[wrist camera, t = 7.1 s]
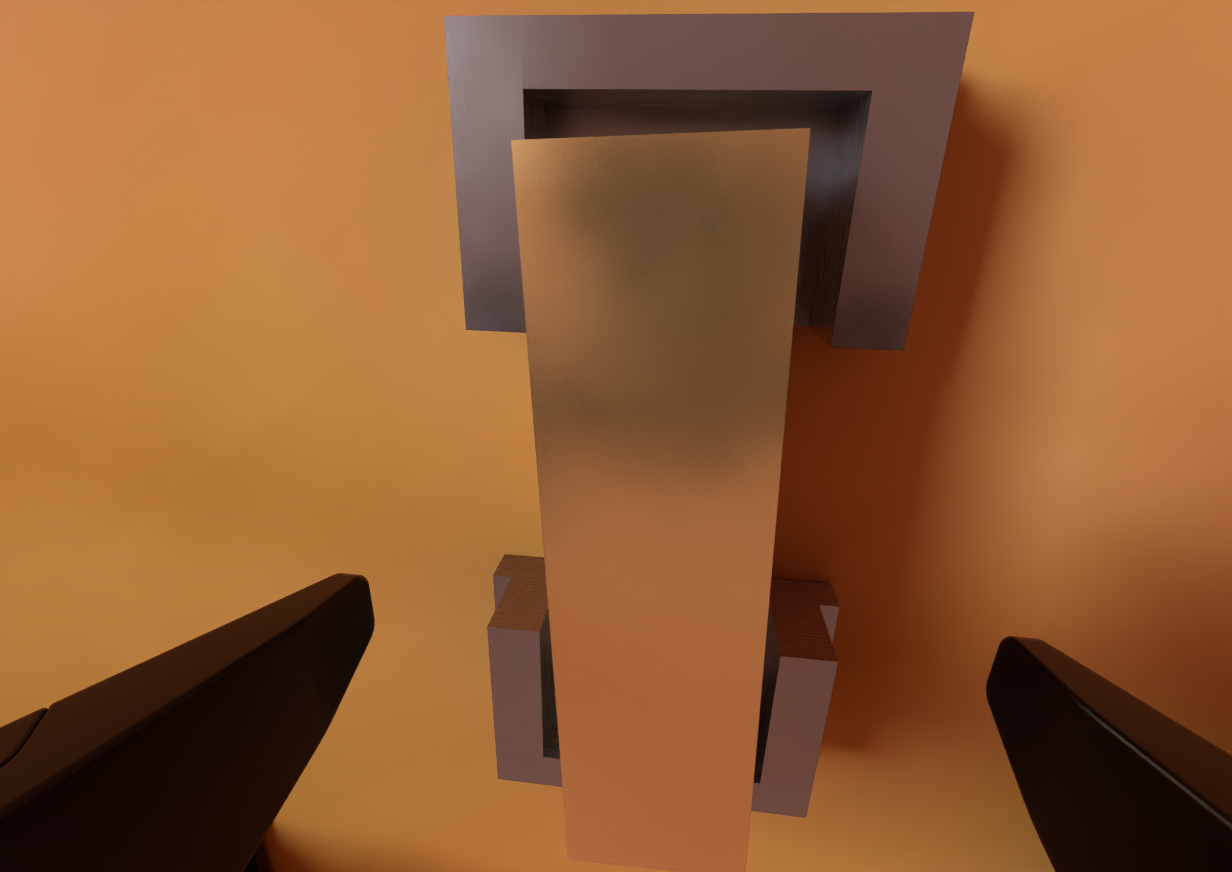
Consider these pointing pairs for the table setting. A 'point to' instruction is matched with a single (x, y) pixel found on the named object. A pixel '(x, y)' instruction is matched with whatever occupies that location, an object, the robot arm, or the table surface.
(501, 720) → the grey frame
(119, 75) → the table surface
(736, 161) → the brown rectangular block
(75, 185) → the table surface
